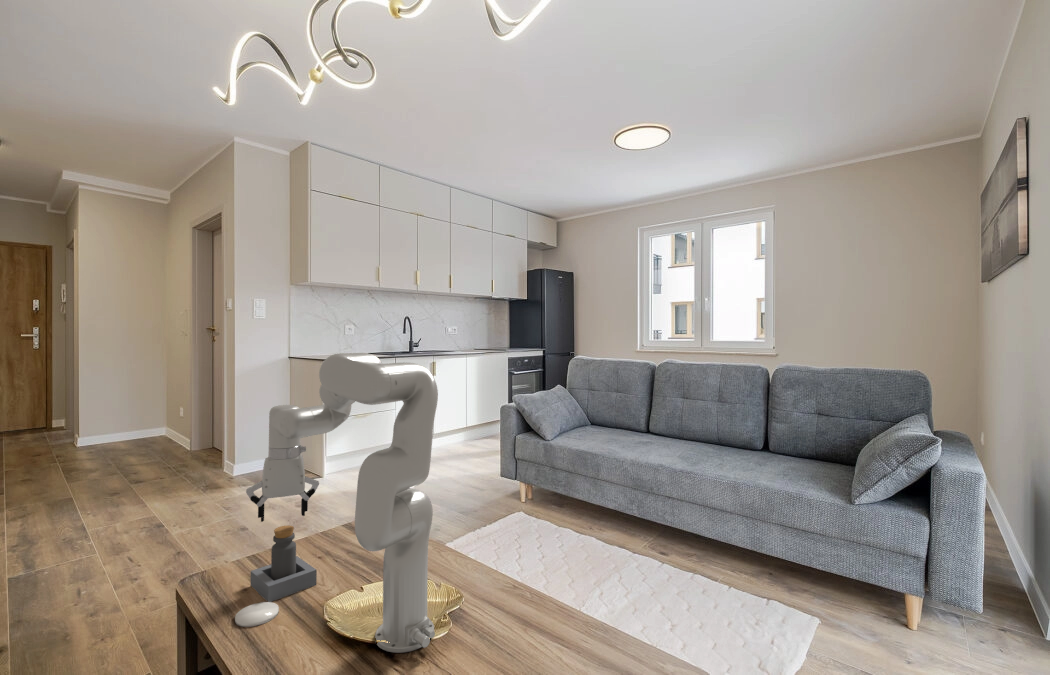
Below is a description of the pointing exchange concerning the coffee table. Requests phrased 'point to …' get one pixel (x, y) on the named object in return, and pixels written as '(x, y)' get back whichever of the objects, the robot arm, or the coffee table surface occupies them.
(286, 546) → the bottle
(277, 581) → the square frame
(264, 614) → the white round part
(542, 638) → the coffee table surface
